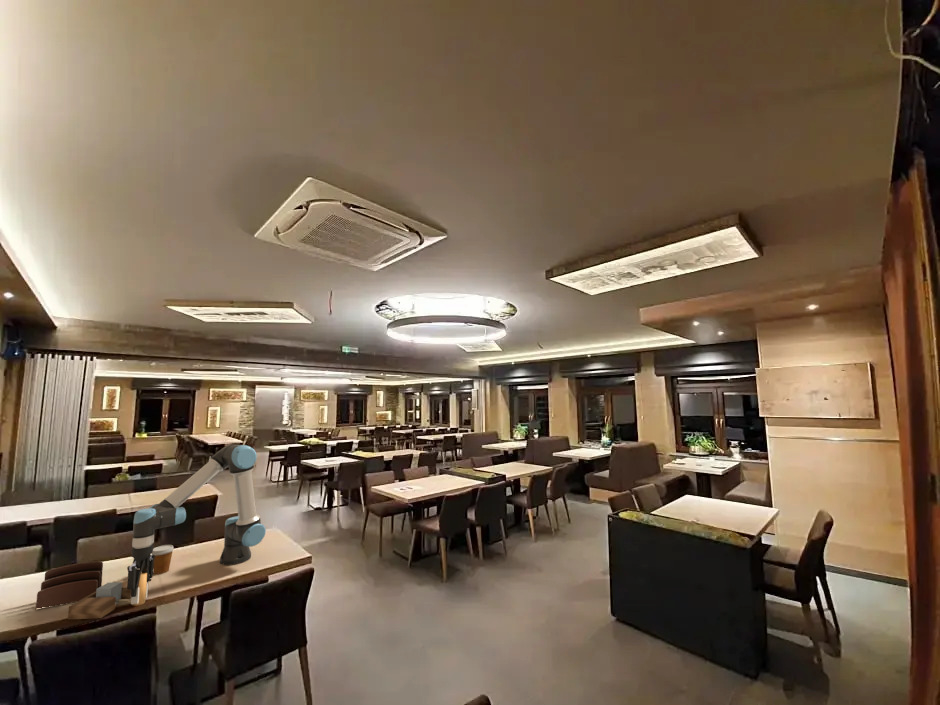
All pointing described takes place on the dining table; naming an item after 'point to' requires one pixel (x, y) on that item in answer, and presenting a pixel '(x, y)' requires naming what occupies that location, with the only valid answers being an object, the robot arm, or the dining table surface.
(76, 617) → the cubby lane
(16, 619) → the dining table surface
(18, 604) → the dining table surface
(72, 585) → the letter holder
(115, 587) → the tethered block
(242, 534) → the robot arm
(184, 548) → the dining table surface
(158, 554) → the disposable coffee cup
